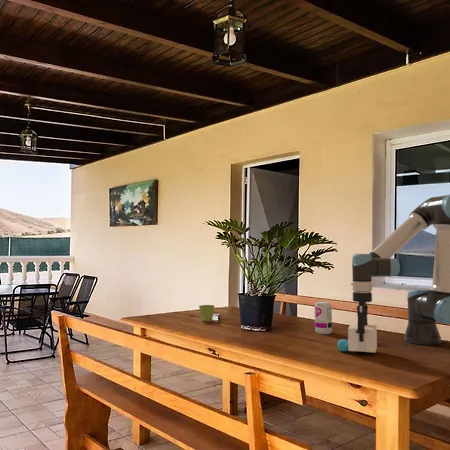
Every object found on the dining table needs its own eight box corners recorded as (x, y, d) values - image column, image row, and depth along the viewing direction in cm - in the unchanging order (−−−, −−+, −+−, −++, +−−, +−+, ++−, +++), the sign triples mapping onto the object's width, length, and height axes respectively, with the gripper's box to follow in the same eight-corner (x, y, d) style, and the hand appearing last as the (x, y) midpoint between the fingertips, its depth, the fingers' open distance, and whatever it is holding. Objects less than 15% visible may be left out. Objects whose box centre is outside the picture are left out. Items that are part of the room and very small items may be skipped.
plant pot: (196, 320, 271) (196, 305, 272) (211, 319, 275) (211, 304, 276) (202, 322, 263) (202, 307, 263) (217, 321, 267) (217, 306, 267)
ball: (353, 344, 194) (343, 335, 195) (351, 347, 189) (342, 338, 190) (344, 352, 195) (335, 343, 196) (343, 355, 190) (333, 346, 191)
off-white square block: (376, 347, 192) (376, 325, 193) (375, 352, 183) (374, 329, 183) (351, 345, 196) (351, 324, 196) (348, 350, 187) (348, 328, 187)
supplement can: (319, 335, 226) (319, 303, 227) (312, 331, 234) (311, 301, 235) (335, 334, 228) (334, 303, 229) (327, 330, 236) (326, 301, 237)
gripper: (355, 288, 202) (356, 340, 201) (349, 294, 181) (350, 352, 180) (373, 289, 199) (374, 341, 199) (369, 295, 178) (370, 353, 177)
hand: (362, 346), depth 189 cm, fingers closed on off-white square block, 10 cm apart
